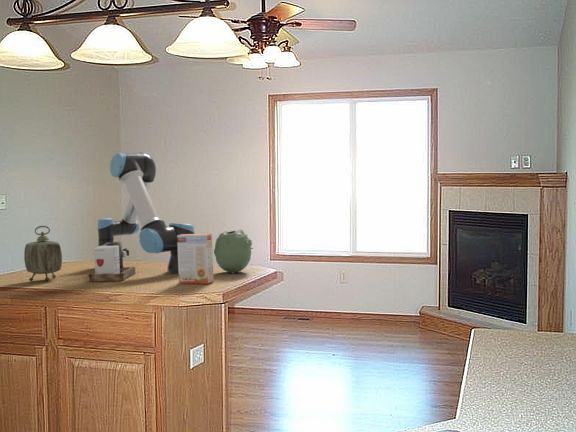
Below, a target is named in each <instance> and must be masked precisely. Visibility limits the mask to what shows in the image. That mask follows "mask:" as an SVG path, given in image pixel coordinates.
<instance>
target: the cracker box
mask: <svg viewBox="0 0 576 432" xmlns="http://www.w3.org/2000/svg"><path fill="white" fill-rule="evenodd" d="M177 246H178V271H179V273H178V284H192V285H193V284H195V285H208V284H211V283H214V280H215V279H214V258H213V257H214V256H213V253H214V251H213V234H212V233H195V234H181V235H177Z"/></svg>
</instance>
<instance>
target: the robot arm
mask: <svg viewBox="0 0 576 432" xmlns="http://www.w3.org/2000/svg"><path fill="white" fill-rule="evenodd" d="M109 171H110V174H111V176H112V177H113V178H118V180H119V182H120V184H121V185H124V186H125V188H126V190H127V193H128V196H129V198H128V201H127V204H126V206H125V208H124V209H125V210H124V211H123V212H124V213H123V215H122V218H121V220H115V221H114V220H113V218H112V217H105V218H99V219H98V220H97V236H98V241H97V242H98V245H97V247H99V246H113V242H115V241H114V239H115V238H114V237H118V236H119V237H120V236H127V235H128V236H131V235H135V234H137V233H138V232H139V235H138V238H139V244H140V246H141V248H142V250H143V251H144V252H146V253H148V254H160V253H165V252H170V257H169V259H168V264H167V268H166V270H167V273H169V274H179V271H178V246H177V235H181V234H196V233H195V227H194V224H192V223H178V222H177V223H175V222H169V224H168V226H167V225H166V223H165V220H163V219H162V218H160V217H159V215H158V212H157V210H156V208H155V205H154V203H153V200H152V199H151V198H152V197H151V196H150V194H149V189H150V186H151V184H153V182H154V181H155V178H156V173H157V168H156V163H155V161H154V159H153V158H152V157H151V156H150V155H149V154H148V153H146V152H118V153H117V152H116V153H115V154H114V155H113V156H112V157H111V159H110V163H109ZM138 219H139V221H140V224H141V227H140V224H139V222H138ZM139 227H140V228H139ZM139 230H140V231H139ZM122 253H123V259H127V257H129V256H130V250H129V249H128V248H122Z"/></svg>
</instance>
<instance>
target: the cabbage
mask: <svg viewBox="0 0 576 432" xmlns="http://www.w3.org/2000/svg"><path fill="white" fill-rule="evenodd" d="M248 236H249V235H248V234H245V232H244V230H243V229H238V230H233V231H232V230H231V231H227V230H224V232H221V233H220V234H219V236H218V237H217V238H216V240H215V244H214V249H213V253H214V256H215V261H216V262H217V264H218V266H219V267H220V268H221V269H222V270H223V271H225V272H226V273H232V274H235V273H239V272H241V271H243V270H244V269H246V267H247V266H248V265H249V263H250V260H251V259H252V258H251V256H252V249H254V247H252V245H253V241H252V239H250V238H249V237H248Z"/></svg>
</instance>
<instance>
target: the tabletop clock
mask: <svg viewBox="0 0 576 432" xmlns="http://www.w3.org/2000/svg"><path fill="white" fill-rule="evenodd" d="M40 228H46V229H48V231H47V232H45V233H44V231H41V232H40V233H38V232H37V230H38V229H40ZM50 231H51V229H50V227H49V226H47V225H39V226H37V227H36V228H35V229H34V233H35V234H36V235H38V236H37V239H36V241H32V242H28V243H26V244H25V246H24V254H23V255H24V256H23V257H24V258H23V260H24V266H25V270H26V272H27V273H31V274H32V276H31V277H29V282H32V281H34V277H35V276H36V275H45V278H44V280H45V281H46V282H49V280H50V278H49V277H48V274H51V275H52V277H51V278H53V279H56V274H55V273H56V272H59V271H60V270H61V269H62V265H63V263H62V262H63V253H62V246H61V245H60V243H59V242H58V241H50V239H49V237H48V236H46V235H48V234H49V233H50Z"/></svg>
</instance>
